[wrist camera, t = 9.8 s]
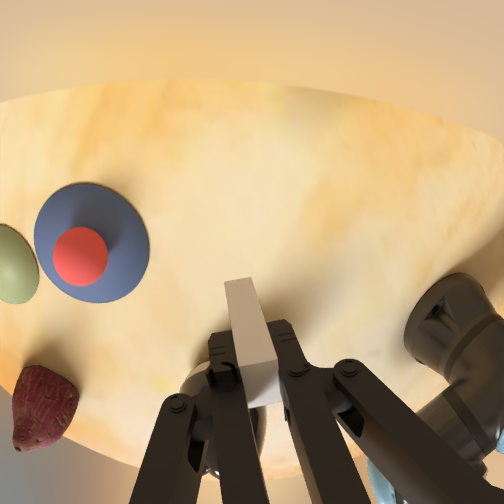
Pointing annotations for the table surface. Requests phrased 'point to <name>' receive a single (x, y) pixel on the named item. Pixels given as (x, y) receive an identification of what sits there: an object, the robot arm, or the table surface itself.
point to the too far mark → (16, 268)
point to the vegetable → (41, 408)
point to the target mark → (107, 226)
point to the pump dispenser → (194, 386)
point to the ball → (80, 256)
